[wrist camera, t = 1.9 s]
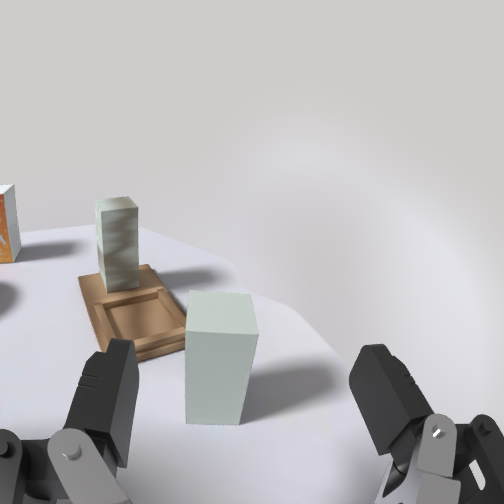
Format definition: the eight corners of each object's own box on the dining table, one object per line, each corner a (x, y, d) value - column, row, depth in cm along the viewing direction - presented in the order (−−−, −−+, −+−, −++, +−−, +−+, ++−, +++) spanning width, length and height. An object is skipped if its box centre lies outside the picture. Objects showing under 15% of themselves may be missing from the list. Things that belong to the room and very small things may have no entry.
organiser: (108, 370, 29) (89, 264, 23) (78, 282, 42) (70, 201, 36) (203, 342, 36) (211, 244, 30) (148, 269, 49) (148, 192, 43)
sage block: (185, 423, 25) (185, 330, 20) (187, 384, 29) (189, 290, 24) (238, 425, 26) (258, 334, 21) (234, 386, 30) (250, 294, 25)
